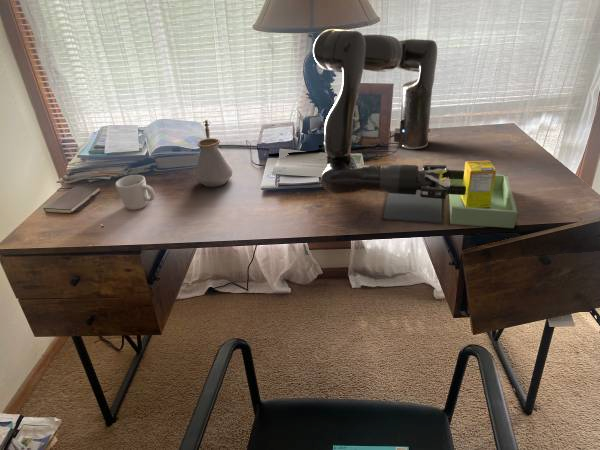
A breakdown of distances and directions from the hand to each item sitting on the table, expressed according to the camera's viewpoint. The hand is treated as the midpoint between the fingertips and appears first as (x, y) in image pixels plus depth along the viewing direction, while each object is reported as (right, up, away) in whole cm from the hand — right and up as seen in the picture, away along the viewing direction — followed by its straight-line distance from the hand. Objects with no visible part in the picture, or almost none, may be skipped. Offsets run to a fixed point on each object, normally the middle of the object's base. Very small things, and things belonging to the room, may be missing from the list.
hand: (464, 182), depth 109 cm
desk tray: (+4, -6, +2) cm, 8 cm away
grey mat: (-11, -5, +6) cm, 14 cm away
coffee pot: (-68, +5, +31) cm, 75 cm away
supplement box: (+3, -6, +3) cm, 7 cm away
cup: (-86, -5, +16) cm, 88 cm away
